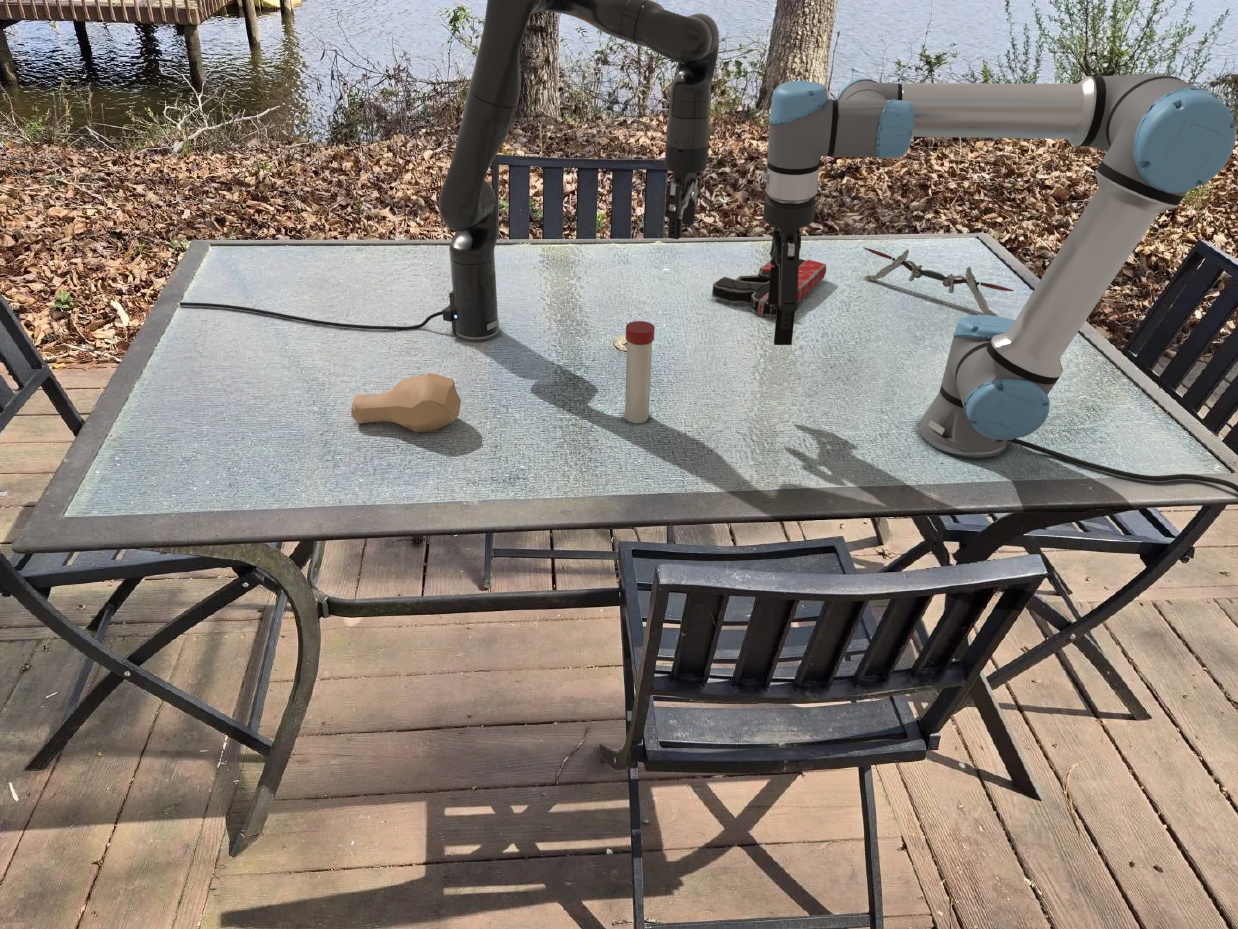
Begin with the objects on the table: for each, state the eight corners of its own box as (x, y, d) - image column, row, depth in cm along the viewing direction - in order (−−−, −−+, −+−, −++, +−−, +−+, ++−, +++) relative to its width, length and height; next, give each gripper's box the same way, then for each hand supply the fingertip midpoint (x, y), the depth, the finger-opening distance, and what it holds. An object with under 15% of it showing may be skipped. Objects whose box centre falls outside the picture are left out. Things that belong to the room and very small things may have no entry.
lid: (636, 347, 152) (636, 335, 151) (620, 336, 156) (620, 324, 154) (659, 340, 155) (660, 329, 153) (643, 330, 158) (643, 318, 157)
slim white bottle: (633, 425, 162) (637, 336, 152) (620, 415, 165) (622, 327, 155) (653, 419, 164) (657, 331, 154) (639, 408, 167) (643, 321, 157)
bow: (1006, 319, 205) (1018, 279, 199) (1003, 322, 204) (1015, 281, 198) (860, 274, 226) (867, 237, 221) (856, 276, 225) (863, 238, 220)
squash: (461, 438, 156) (449, 399, 150) (353, 447, 158) (336, 409, 152) (469, 400, 164) (458, 361, 158) (366, 408, 166) (350, 370, 160)
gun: (708, 284, 207) (784, 305, 199) (760, 245, 229) (831, 262, 221) (706, 302, 209) (781, 323, 201) (758, 261, 231) (828, 278, 223)
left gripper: (679, 130, 161) (673, 217, 170) (654, 148, 150) (649, 240, 159) (718, 134, 159) (711, 222, 168) (695, 153, 148) (689, 246, 157)
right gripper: (759, 166, 140) (751, 288, 153) (770, 228, 120) (760, 362, 133) (807, 166, 139) (795, 288, 152) (826, 228, 120) (810, 362, 132)
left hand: (681, 231), depth 164 cm, fingers open, 8 cm apart
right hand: (779, 323), depth 143 cm, fingers open, 13 cm apart
